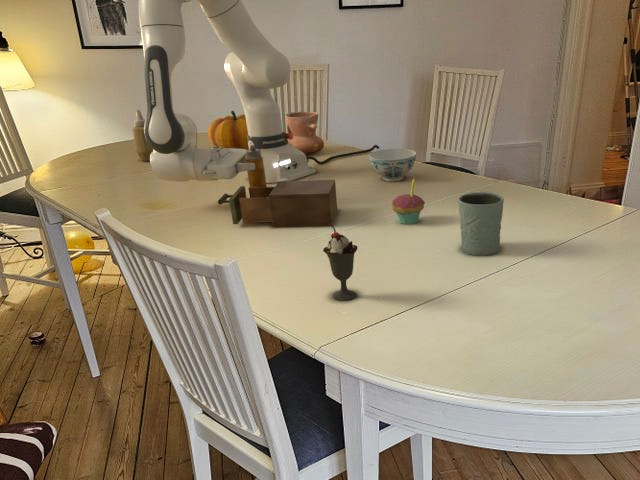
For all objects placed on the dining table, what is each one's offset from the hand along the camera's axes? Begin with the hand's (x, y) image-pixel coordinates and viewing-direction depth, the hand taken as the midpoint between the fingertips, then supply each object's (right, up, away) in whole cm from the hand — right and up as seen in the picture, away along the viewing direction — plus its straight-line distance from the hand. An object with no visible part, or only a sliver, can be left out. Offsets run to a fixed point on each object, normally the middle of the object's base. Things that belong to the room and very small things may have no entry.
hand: (258, 163), depth 181 cm
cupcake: (+42, -19, -11) cm, 47 cm away
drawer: (+1, -16, -5) cm, 17 cm away
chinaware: (+38, +3, +27) cm, 47 cm away
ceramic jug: (+5, +23, +65) cm, 69 cm away
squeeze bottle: (-55, +22, +67) cm, 89 cm away
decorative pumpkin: (-21, +27, +73) cm, 80 cm away
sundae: (+27, -42, -50) cm, 71 cm away
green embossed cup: (+57, -29, -30) cm, 71 cm away
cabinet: (+14, -17, -5) cm, 22 cm away
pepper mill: (0, -11, +6) cm, 13 cm away
